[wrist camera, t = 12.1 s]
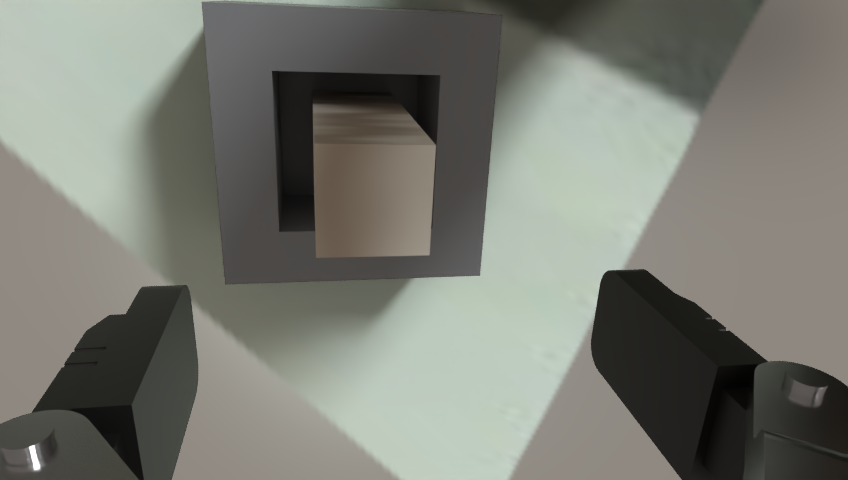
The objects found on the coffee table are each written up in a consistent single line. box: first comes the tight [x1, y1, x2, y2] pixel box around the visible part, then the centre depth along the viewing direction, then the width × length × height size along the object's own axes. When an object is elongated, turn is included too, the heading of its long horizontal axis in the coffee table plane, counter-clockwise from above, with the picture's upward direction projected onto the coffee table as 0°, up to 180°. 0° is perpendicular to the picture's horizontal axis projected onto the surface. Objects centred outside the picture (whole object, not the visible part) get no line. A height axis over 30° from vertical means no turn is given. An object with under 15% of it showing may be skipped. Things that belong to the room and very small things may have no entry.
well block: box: [202, 1, 502, 284], centre depth 29 cm, size 12×12×6 cm
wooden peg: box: [312, 91, 436, 258], centre depth 26 cm, size 4×4×12 cm
